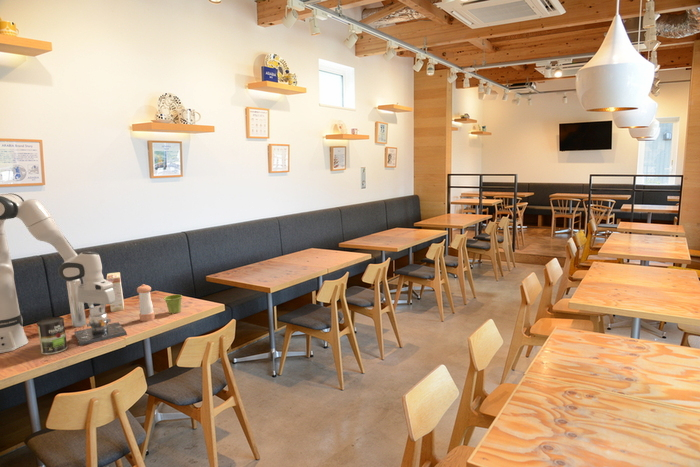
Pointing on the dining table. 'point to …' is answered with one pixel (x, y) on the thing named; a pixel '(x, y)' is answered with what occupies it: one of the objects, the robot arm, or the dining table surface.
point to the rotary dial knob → (97, 317)
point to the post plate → (99, 333)
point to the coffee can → (52, 335)
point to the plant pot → (173, 303)
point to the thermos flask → (76, 304)
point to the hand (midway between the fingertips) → (98, 311)
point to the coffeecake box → (116, 291)
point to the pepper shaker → (145, 303)
